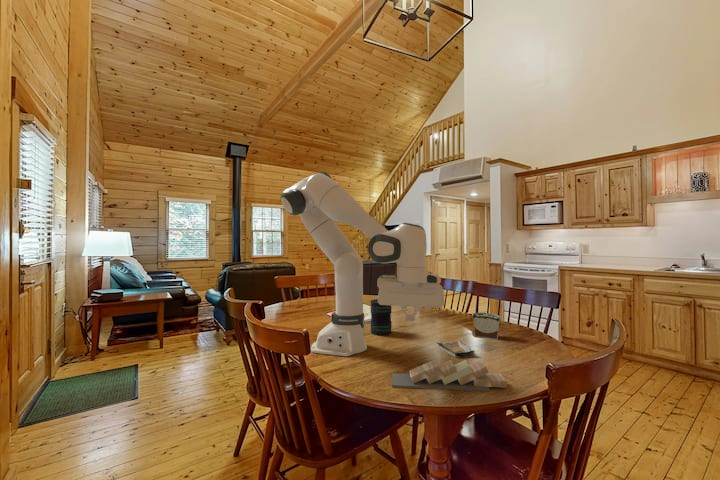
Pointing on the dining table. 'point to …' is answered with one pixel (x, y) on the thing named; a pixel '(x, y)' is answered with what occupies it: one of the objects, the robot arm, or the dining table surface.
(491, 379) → the domino
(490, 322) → the food container
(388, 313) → the storage jar
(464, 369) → the sage domino
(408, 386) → the domino mat
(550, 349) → the dining table surface
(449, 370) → the domino
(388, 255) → the robot arm
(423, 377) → the domino
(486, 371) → the domino
